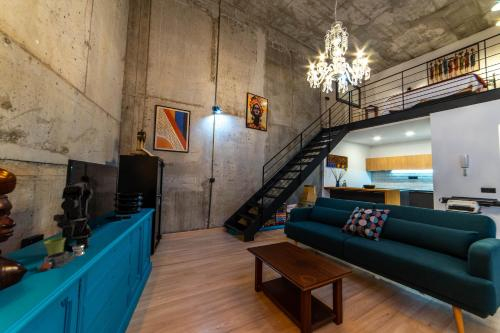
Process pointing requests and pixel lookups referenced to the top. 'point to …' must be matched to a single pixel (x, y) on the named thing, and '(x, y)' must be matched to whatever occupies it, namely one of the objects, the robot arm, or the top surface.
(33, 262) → the top surface
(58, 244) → the plant pot
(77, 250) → the coupling
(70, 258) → the valve body
